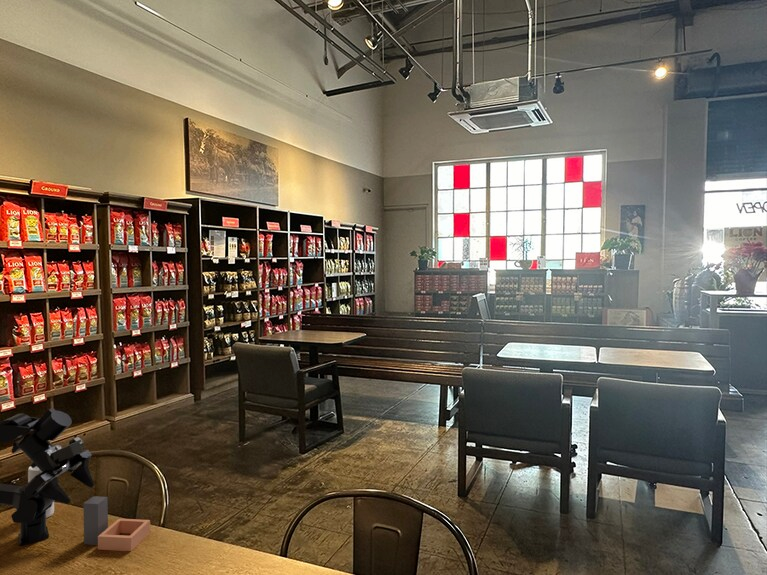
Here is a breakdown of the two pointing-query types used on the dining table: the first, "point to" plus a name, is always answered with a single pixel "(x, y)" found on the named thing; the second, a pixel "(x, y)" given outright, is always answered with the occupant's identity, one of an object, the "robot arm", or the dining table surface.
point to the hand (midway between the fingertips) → (81, 494)
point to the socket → (121, 542)
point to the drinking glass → (31, 474)
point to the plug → (95, 518)
